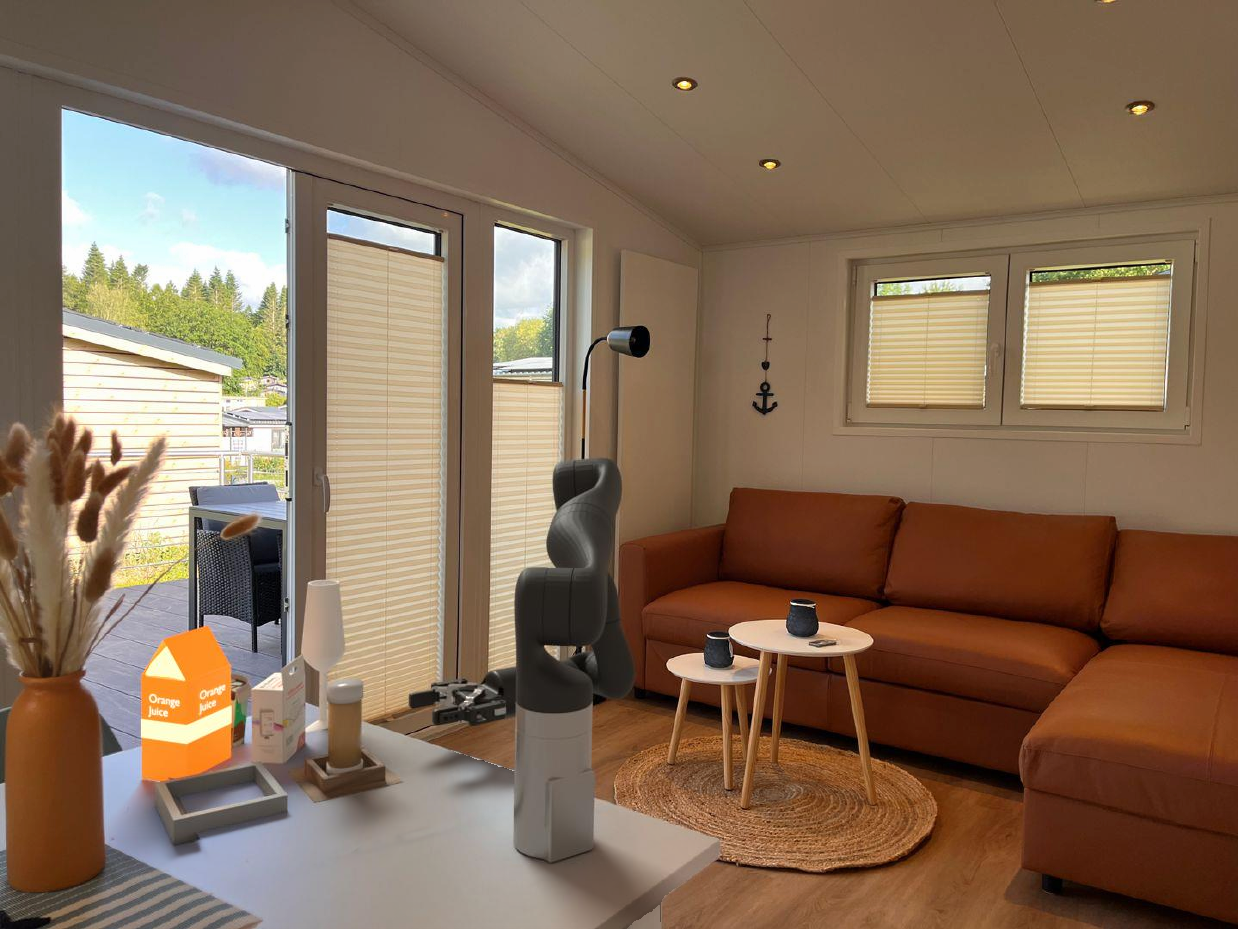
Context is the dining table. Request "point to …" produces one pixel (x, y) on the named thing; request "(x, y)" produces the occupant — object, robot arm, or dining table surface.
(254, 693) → the ink cartridge box
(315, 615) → the champagne flute
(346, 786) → the walnut block
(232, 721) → the food container
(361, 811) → the dining table surface
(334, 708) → the cartridge fuse
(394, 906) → the dining table surface
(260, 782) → the grey parts tray
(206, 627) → the orange juice
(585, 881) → the dining table surface
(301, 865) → the dining table surface
